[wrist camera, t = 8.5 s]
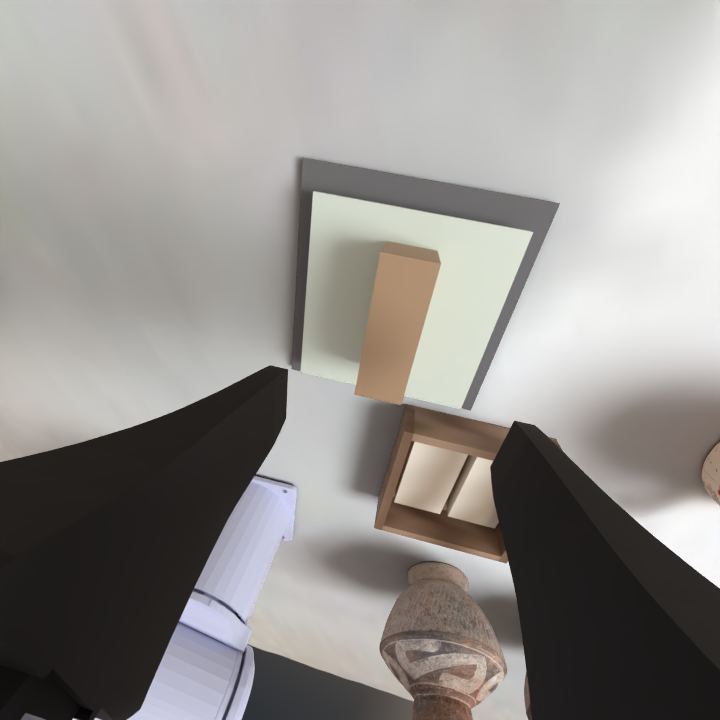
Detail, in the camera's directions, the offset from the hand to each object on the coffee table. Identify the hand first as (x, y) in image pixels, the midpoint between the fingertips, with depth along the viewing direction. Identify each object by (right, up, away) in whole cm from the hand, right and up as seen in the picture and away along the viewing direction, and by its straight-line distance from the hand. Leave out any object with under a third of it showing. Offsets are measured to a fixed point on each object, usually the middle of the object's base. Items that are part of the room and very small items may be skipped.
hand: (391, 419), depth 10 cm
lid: (+1, +5, +7) cm, 8 cm away
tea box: (+6, -6, +14) cm, 16 cm away
